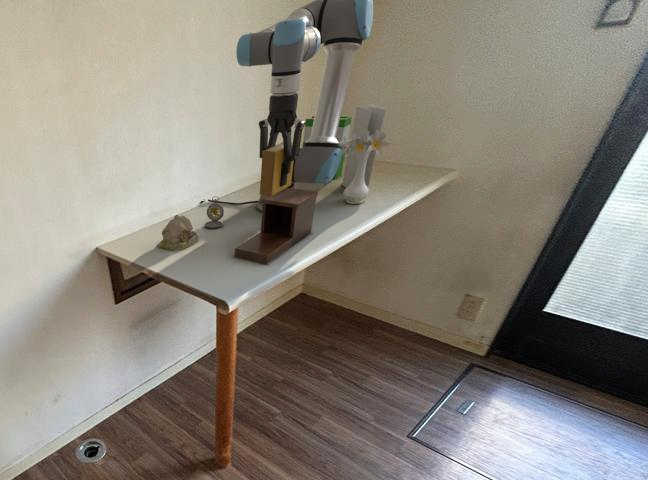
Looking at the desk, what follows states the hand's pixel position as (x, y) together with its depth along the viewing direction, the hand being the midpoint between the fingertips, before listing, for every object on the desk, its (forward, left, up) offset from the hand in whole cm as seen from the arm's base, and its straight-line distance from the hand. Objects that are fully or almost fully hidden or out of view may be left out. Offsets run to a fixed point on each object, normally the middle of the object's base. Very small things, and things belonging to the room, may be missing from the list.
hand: (276, 184), depth 127 cm
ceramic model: (-30, -13, -20) cm, 38 cm away
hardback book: (-23, +86, -20) cm, 92 cm away
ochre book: (0, 0, -2) cm, 2 cm away
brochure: (-1, +72, -20) cm, 75 cm away
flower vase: (+5, +55, -20) cm, 59 cm away
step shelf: (0, +3, -20) cm, 20 cm away
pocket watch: (-29, +8, -20) cm, 36 cm away
